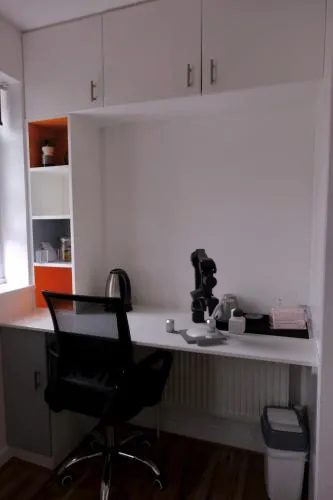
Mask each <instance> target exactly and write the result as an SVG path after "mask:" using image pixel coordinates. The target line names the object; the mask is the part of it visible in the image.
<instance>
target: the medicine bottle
mask: <svg viewBox="0 0 333 500" xmlns="http://www.w3.org/2000/svg"><path fill="white" fill-rule="evenodd" d="M230 311H231V312H230V315H231V316H230V318H229V320H228V333H230V334H235V335H243V333H244V332H245V330H246V317H244V310H243V309H241V308H233V309H231V310H230Z"/></svg>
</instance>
